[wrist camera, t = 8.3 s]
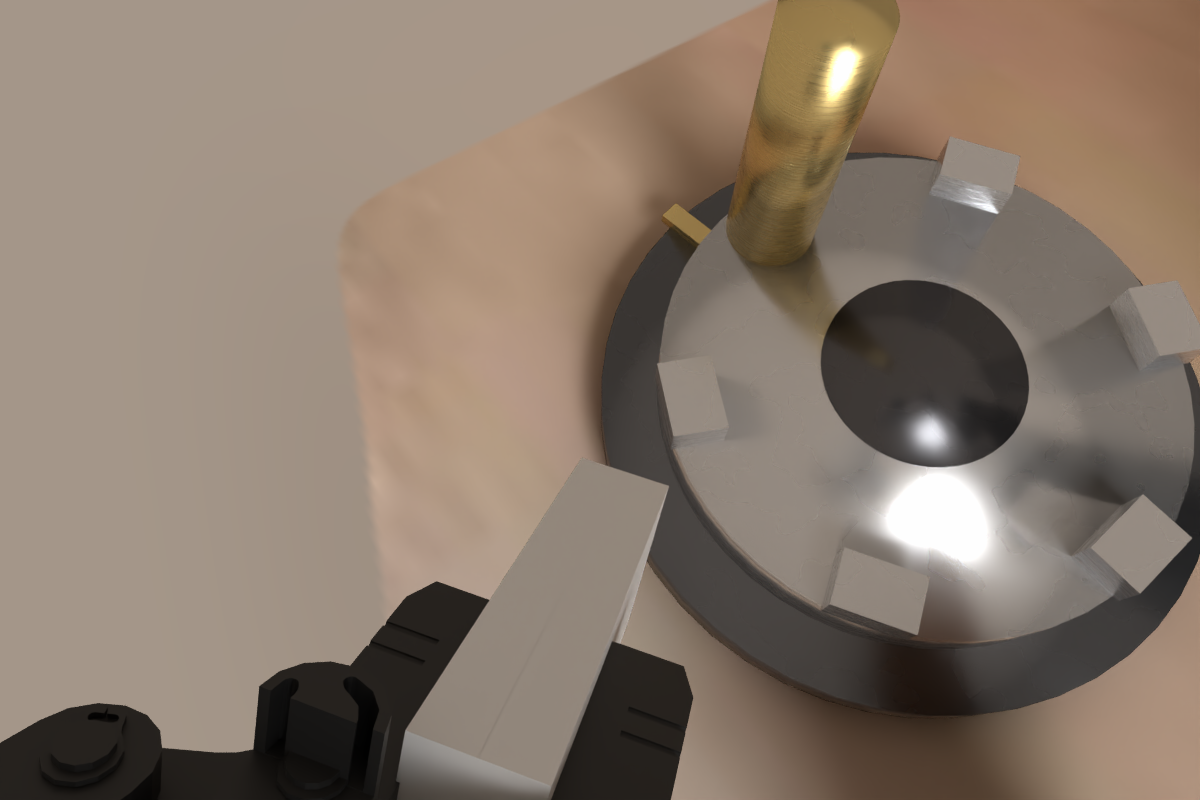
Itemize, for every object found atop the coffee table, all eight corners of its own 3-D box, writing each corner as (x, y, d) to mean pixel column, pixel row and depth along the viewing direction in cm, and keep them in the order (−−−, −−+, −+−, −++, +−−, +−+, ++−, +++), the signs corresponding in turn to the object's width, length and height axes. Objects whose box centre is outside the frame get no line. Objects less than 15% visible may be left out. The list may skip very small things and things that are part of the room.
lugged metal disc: (1263, 424, 31) (1624, 235, 20) (927, 776, 27) (1158, 777, 16) (887, 115, 37) (1011, -166, 26) (553, 364, 32) (531, 151, 21)
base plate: (1205, 257, 36) (1236, 231, 34) (1162, 816, 28) (1200, 819, 26) (693, 120, 39) (697, 89, 37) (516, 594, 31) (512, 583, 29)
